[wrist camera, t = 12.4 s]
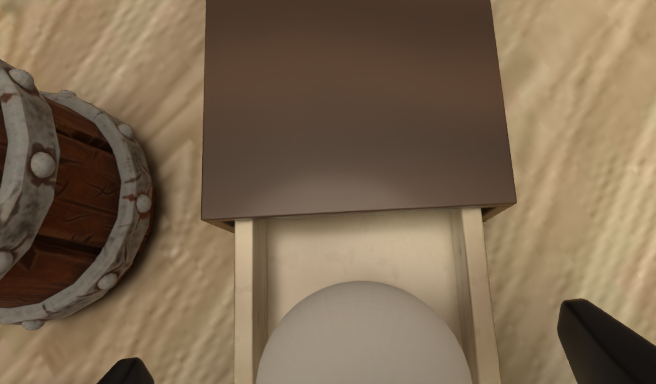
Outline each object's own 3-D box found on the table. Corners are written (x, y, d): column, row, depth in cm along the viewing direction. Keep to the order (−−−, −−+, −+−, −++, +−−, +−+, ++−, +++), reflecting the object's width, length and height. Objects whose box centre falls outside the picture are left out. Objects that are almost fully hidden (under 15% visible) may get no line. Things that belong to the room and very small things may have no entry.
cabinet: (483, 222, 22) (517, 203, 16) (238, 235, 23) (200, 220, 18) (448, -76, 25) (468, -167, 20) (239, -54, 26) (208, -135, 21)
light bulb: (359, 255, 20) (348, 225, 10) (464, 348, 19) (563, 415, 9) (270, 356, 19) (170, 424, 10) (372, 459, 18) (373, 656, 8)
